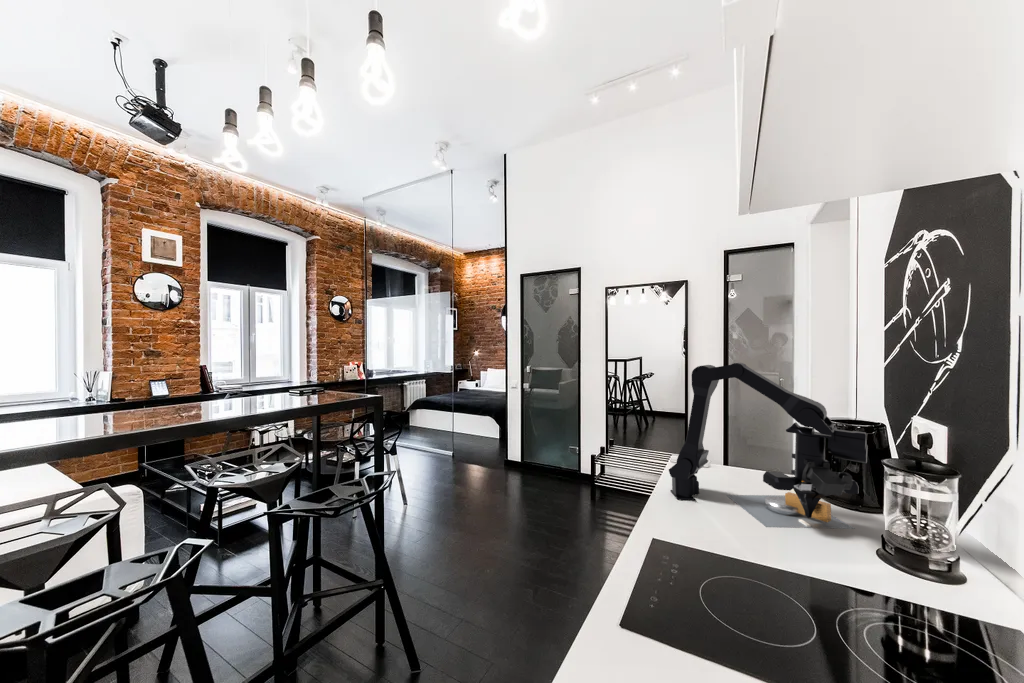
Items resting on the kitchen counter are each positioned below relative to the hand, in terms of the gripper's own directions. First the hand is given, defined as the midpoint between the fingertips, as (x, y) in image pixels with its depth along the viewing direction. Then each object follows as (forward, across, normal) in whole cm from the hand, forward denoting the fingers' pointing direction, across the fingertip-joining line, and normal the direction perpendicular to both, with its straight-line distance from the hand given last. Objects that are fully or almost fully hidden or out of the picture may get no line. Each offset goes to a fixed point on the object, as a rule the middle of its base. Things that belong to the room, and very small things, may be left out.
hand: (808, 517), depth 93 cm
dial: (+1, 0, +5) cm, 5 cm away
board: (+3, -1, +8) cm, 8 cm away
